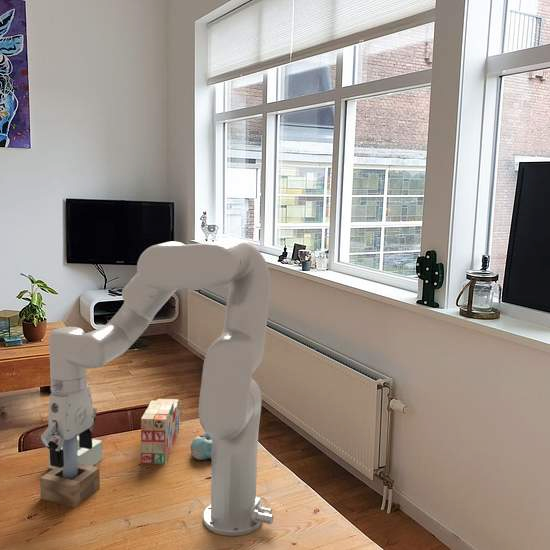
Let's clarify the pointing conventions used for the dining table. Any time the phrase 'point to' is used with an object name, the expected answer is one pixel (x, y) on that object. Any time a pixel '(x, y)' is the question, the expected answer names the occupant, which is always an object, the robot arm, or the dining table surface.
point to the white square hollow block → (87, 454)
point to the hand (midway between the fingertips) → (72, 456)
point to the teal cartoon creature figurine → (202, 447)
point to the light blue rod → (70, 458)
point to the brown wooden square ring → (70, 485)
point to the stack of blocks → (159, 430)
